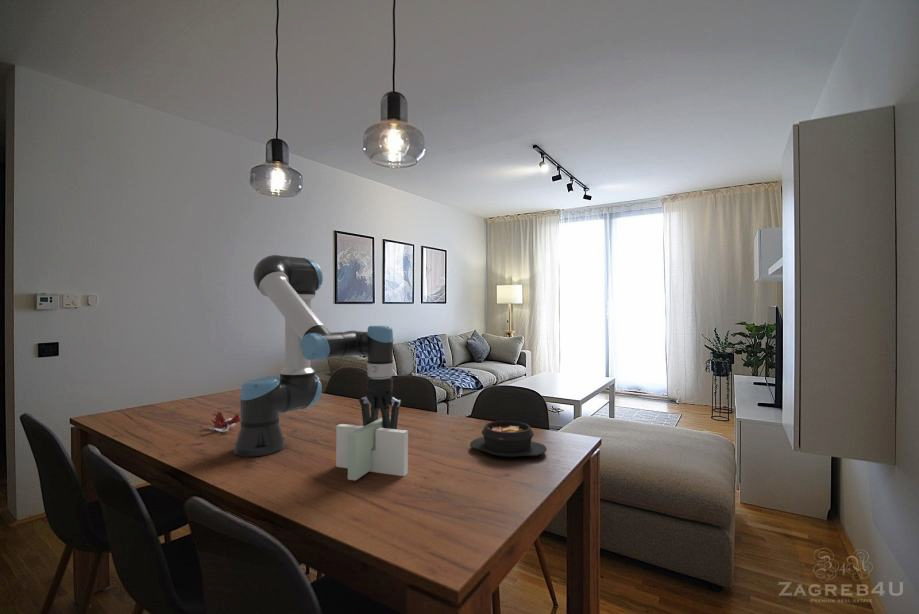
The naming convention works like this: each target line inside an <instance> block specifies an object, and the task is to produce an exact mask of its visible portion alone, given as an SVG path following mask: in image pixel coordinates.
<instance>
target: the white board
mask: <svg viewBox="0 0 919 614" xmlns="http://www.w3.org/2000/svg"><path fill="white" fill-rule="evenodd" d="M362 427H364V426H363V425H357V424H347V423H346V424H345V423H340V424H337V425H336V429H335V431H336V432H335V433H336V435H335V437H336V439H335V440H336V441H335V443H336V444H335V445H336V449H335V450H336V452H335V453H336V454H335V457H336V458H335V461H336V463H335V465H336V466H335V467H336V468H342V469H348V434H349V433H351V432H353V431H356V430H358V429H360V428H362ZM369 472H370V473H371V472H372V473H378V474H385V475H393V476H398V477H405V476H406V475H408V473H409V430H405V429H404V430H403V429H387V428H378V429H376V442H375V448H371V470H370V471H369Z"/></svg>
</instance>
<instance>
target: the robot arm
mask: <svg viewBox="0 0 919 614" xmlns="http://www.w3.org/2000/svg"><path fill="white" fill-rule="evenodd" d="M323 281H324V278H323V271H322V268H321V267H320V265H319V264H318V263H317V261H315V260H313V259H310V258H305V257H295V256H287V255H280V254H271V255H268V256H265V257H263V258H262V259H260V260H259V262H258V263H257V264H256V265H255V267H254V270H253V282H254V284H255V287H256V288H257V290H258V291H259V292H260V293H261V294H262V296H265V297H266V298H267V297H268V298H269V299H270V301H271V303H272V304H273V305H274V306H275V307H276V308H277V311H279V313H280V314H281V315H282V316H283V317H284V367H283V369H282V370H281V371H280V372H279V376H278V375H264V376H263V375H262V376H258V377H254V378H251V379H248V380H246V381H245V382H243V383H242V384H241V386H240V396H239V399H240V417H241V418H240V420H241V421H240V427H239V431H238V433H237V438H236V442H235V443H234V446H233V449H234V450H233V452H234V455H236V456H237V457H238V456H239V457H244V458H246V457H247V458H249V457H261V456H267V455H272V454H274V453H277V452H280V451H282V450H283V449H284V448H285V447H286V439H285V437H284V436H283V431H282V428H281V423H280V414H284V413H288V412H294V411H298V410H304V409H306V408H309V407H313V406H314V405H315V404H316V403H317V402H318V401H319V400H320V397H321V395H322V389H323V388H322V382H321V379H320V377H319V376H318V375H316V374H315V373H316V371H315V369H313V368H312V367H311V361H323V360H327V359H336V358H345V357H346V358H347V357H353V356H354V357H357V356H361V357H367V360H366V361H367V377H368V378H367V379H366V380H367V386H366V387H367V388H366V389H367V394H366V396H364V397H361V398H359V399H358V402H359V405H360V407H361V417H362V426H366V425H368V424H370V423H372V422H374V421H376V420H378V419H379V411H380V413H381V418H382V422H383V428H387V429H397V428H398V421H399V420H398V419H399V413H400V412H399V411H400V406H401V404H402V400H401V399H397V398H395V396H394V393H393V390H394V383H393V381H394V380H393V379H394V378H393V377H392V376H393V375H394V363H393V362H394V360H393V359H394V358H393V356H394V354H393V353H394V334H393V333H394V331H393V328H392V326H390V325H369V326H368V327H367V331H359V330H358V331H357V330H348V331H347V330H346V331H340V332H339V331H338V332H335V331H334V332H331V331H329V330H328V328H327V327H326V326H325V324H323V322H322V321H321V320H320V319H319V318H318V316H317V315H316V314H315V312H313V310H312V299H314V298H315V297H316V291H319V289H321V288H322V286H321V285H323ZM369 404H370V405H369ZM390 404H391V410H390ZM390 411H391V413H390ZM390 417H391V419H390ZM397 430H398V429H397Z"/></svg>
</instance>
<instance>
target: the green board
mask: <svg viewBox="0 0 919 614" xmlns="http://www.w3.org/2000/svg"><path fill="white" fill-rule="evenodd" d="M390 419H391V416H390ZM378 428H383V422H382V417H380V418H378V420H376V421H374V422H372V423H370V424H368V425H366V426H364V427H362V428H360V429H358V430H356V431H353V432H351V433H349V434H348V468H347V480H349V481H357V480H359V479H360V478H361V477H363V476H364V475H366V474H367V473H368V472H370V470H371V448H375V442H376V429H378Z"/></svg>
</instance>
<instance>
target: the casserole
mask: <svg viewBox="0 0 919 614" xmlns="http://www.w3.org/2000/svg"><path fill="white" fill-rule="evenodd" d="M483 427H484V428H483V429H482V431H481V434H482V437H481V436H480V437H477V438H475V439H473V440H472V441H470V443H469V446H470V447H471V448H472V449H475V450H479V451H481V452H484V453H488V454H490V455H494V456H497V457H501V458H516V457H517V458H518V457H523V456H524V457H537V456H540V455H543V454H545V452H547V446H545V445H544V444H543V443H540V442H537V441H532V438H533V437H534V435H535V432H534V431H532V428H531V427H532V426H530V424H527V423H525V422H522V421H517V420H496V421H495V420H494V421H491V422H490V421H489V422H487V423H486V424H485V425H484V426H483Z"/></svg>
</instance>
